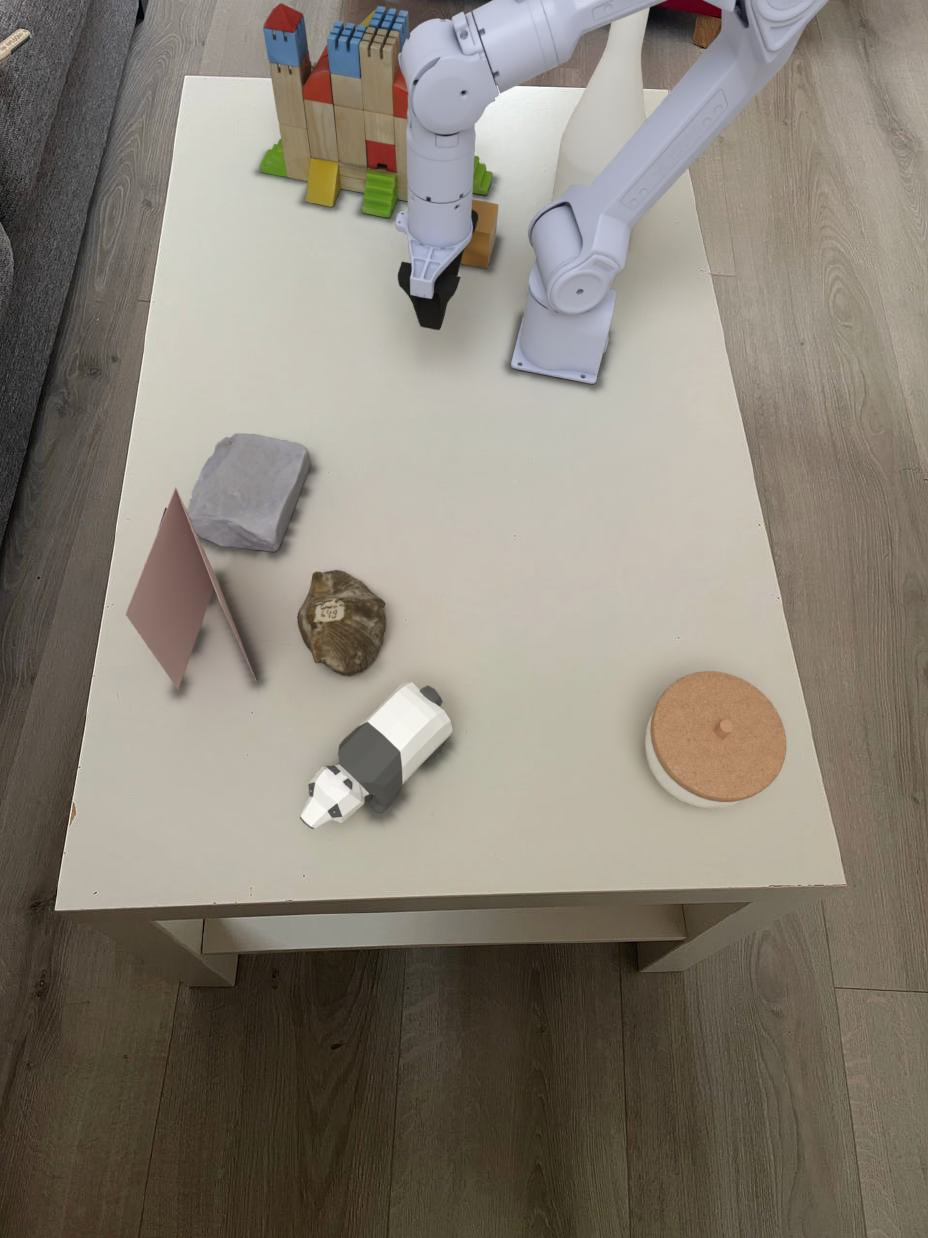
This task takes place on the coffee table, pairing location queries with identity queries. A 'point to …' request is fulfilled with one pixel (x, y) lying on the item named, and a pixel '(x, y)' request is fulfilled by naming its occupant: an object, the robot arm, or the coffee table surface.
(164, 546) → the greeting card
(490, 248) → the ochre block
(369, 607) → the fossilized seashell
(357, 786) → the giant panda
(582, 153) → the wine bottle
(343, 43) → the block set
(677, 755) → the trinket box
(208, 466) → the stone block
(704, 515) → the coffee table surface
